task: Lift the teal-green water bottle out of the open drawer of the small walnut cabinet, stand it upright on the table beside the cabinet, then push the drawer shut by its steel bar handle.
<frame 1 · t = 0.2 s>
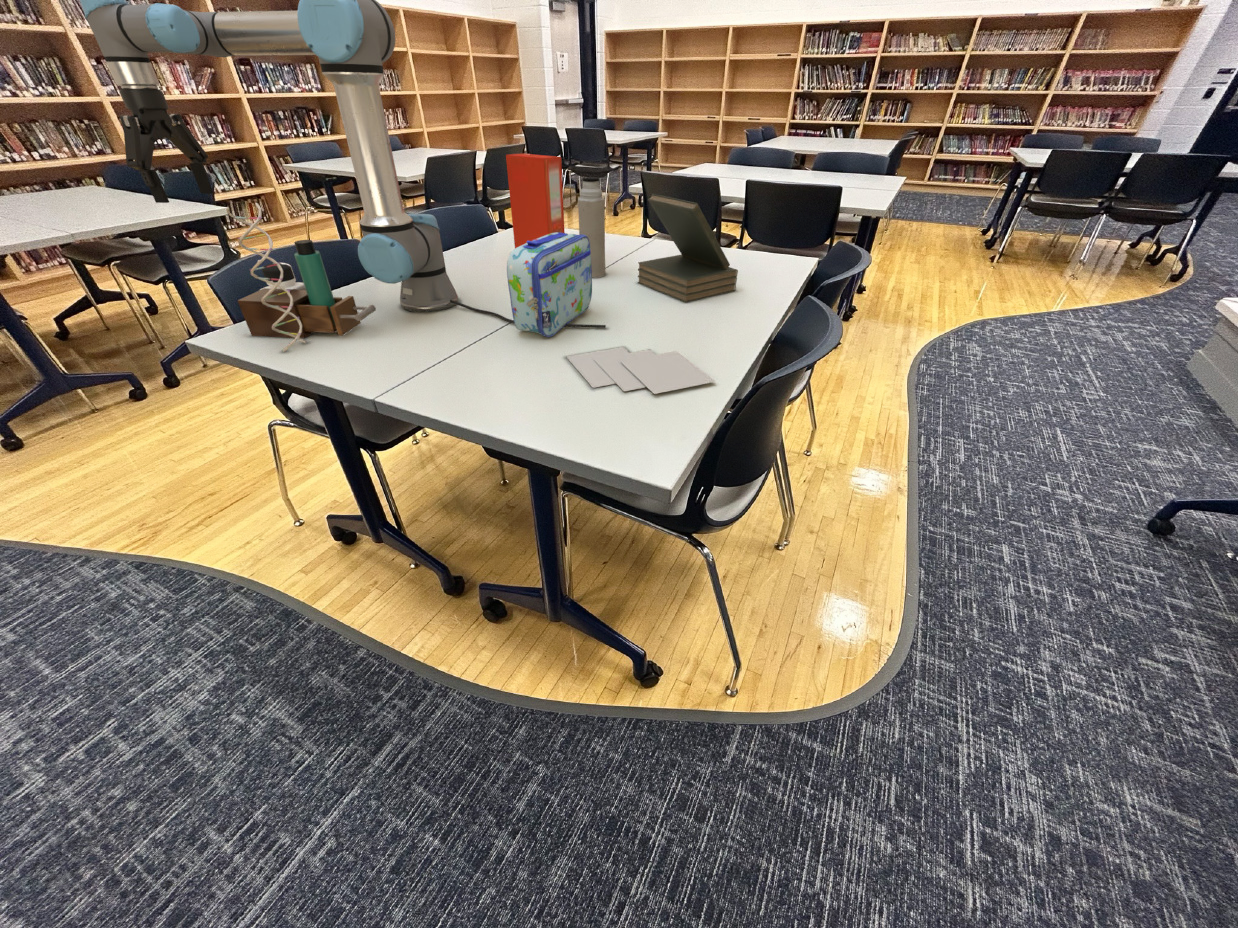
hand: (186, 198, 125), 28 cm above the table, tool pointing down, fingers open, 13 cm apart
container: (293, 316, 140), on the table
file binder: (541, 260, 187), on the table
thermos bottle: (593, 275, 172), on the table
bottle: (329, 324, 129), point 2 cm above the table, touching drawer
drawer: (334, 315, 128), point 4 cm above the table, slide at 8.5 cm, touching bottle
book stack: (685, 287, 162), on the table
dna model: (295, 348, 122), on the table
lunch box: (555, 323, 136), on the table
paper stack: (637, 370, 113), on the table
cabinet: (290, 330, 131), on the table
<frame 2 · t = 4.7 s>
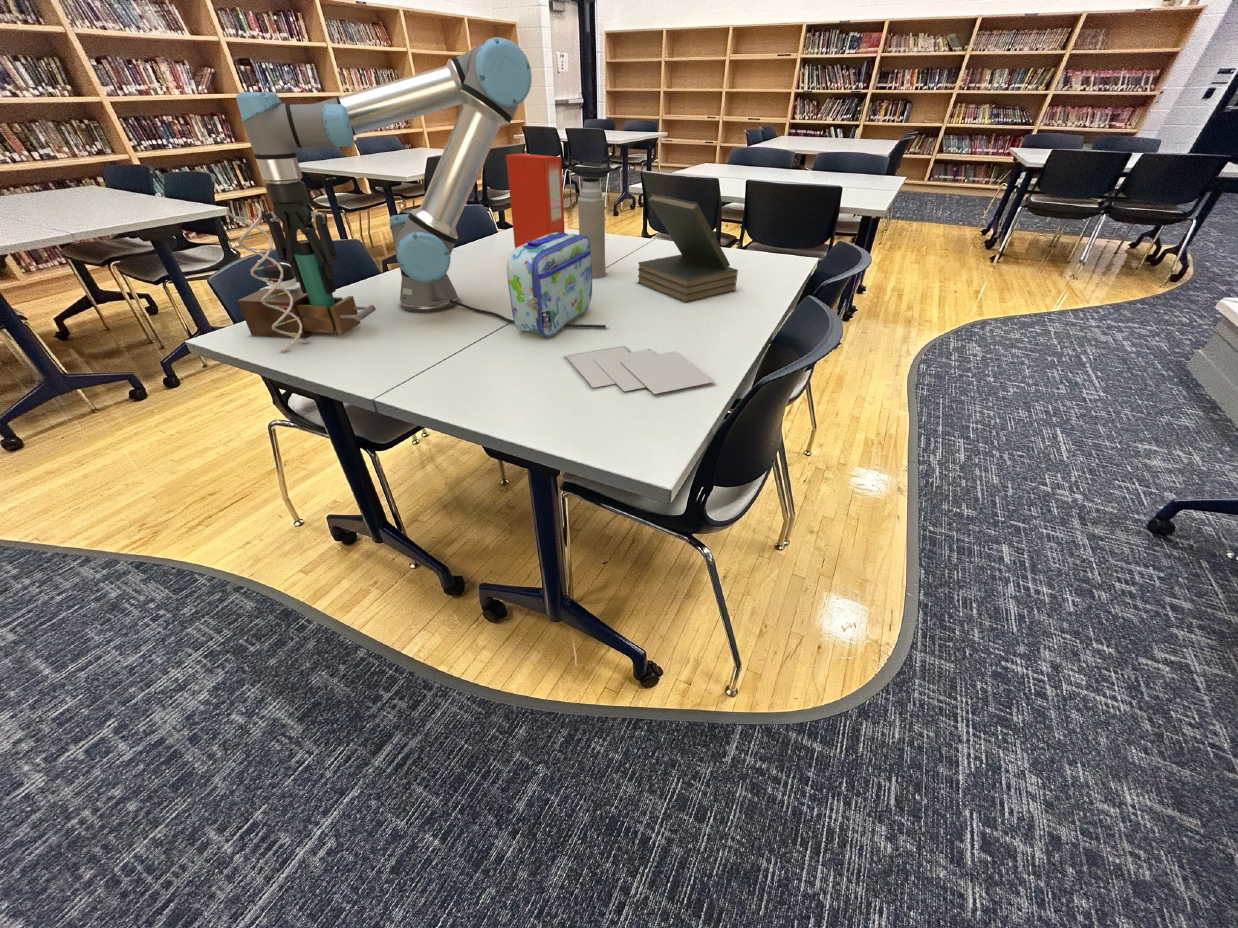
hand: (319, 292, 125), 10 cm above the table, tool pointing down, fingers closed on bottle, 5 cm apart
bottle: (329, 323, 129), point 2 cm above the table, touching drawer, gripper
everything else where it was.
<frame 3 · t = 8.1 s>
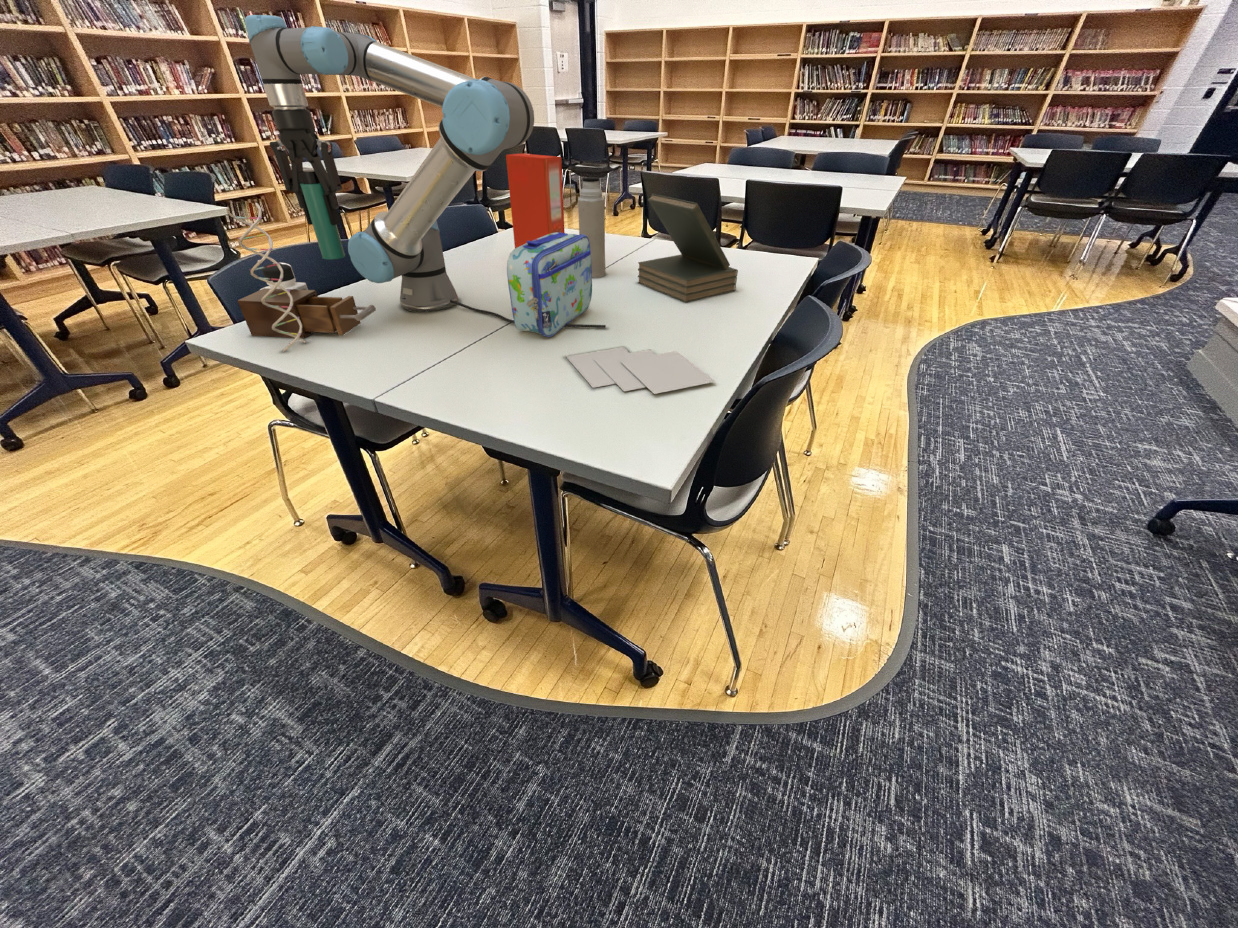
hand: (324, 223, 128), 22 cm above the table, tool pointing down, fingers closed on bottle, 5 cm apart
bottle: (334, 257, 133), point 14 cm above the table, touching gripper
drawer: (334, 315, 128), point 4 cm above the table, slide at 8.5 cm
everything else where it was.
when the fingers open (8 cm above the table, at t = 11.6 s): bottle stays where it is, on the table.
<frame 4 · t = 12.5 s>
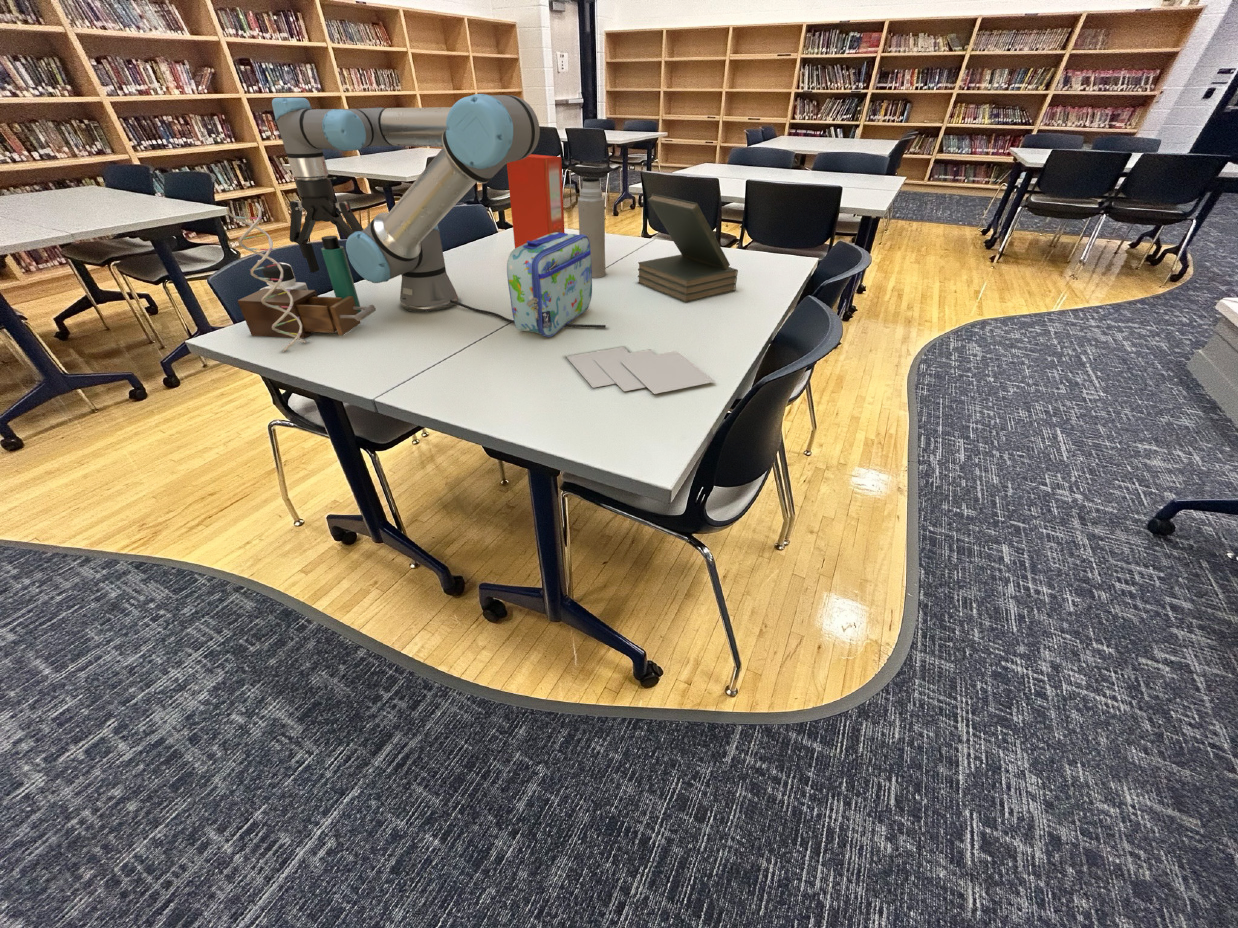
hand: (339, 272, 136), 10 cm above the table, tool pointing down, fingers open, 12 cm apart
bottle: (351, 312, 142), on the table
everything else where it was.
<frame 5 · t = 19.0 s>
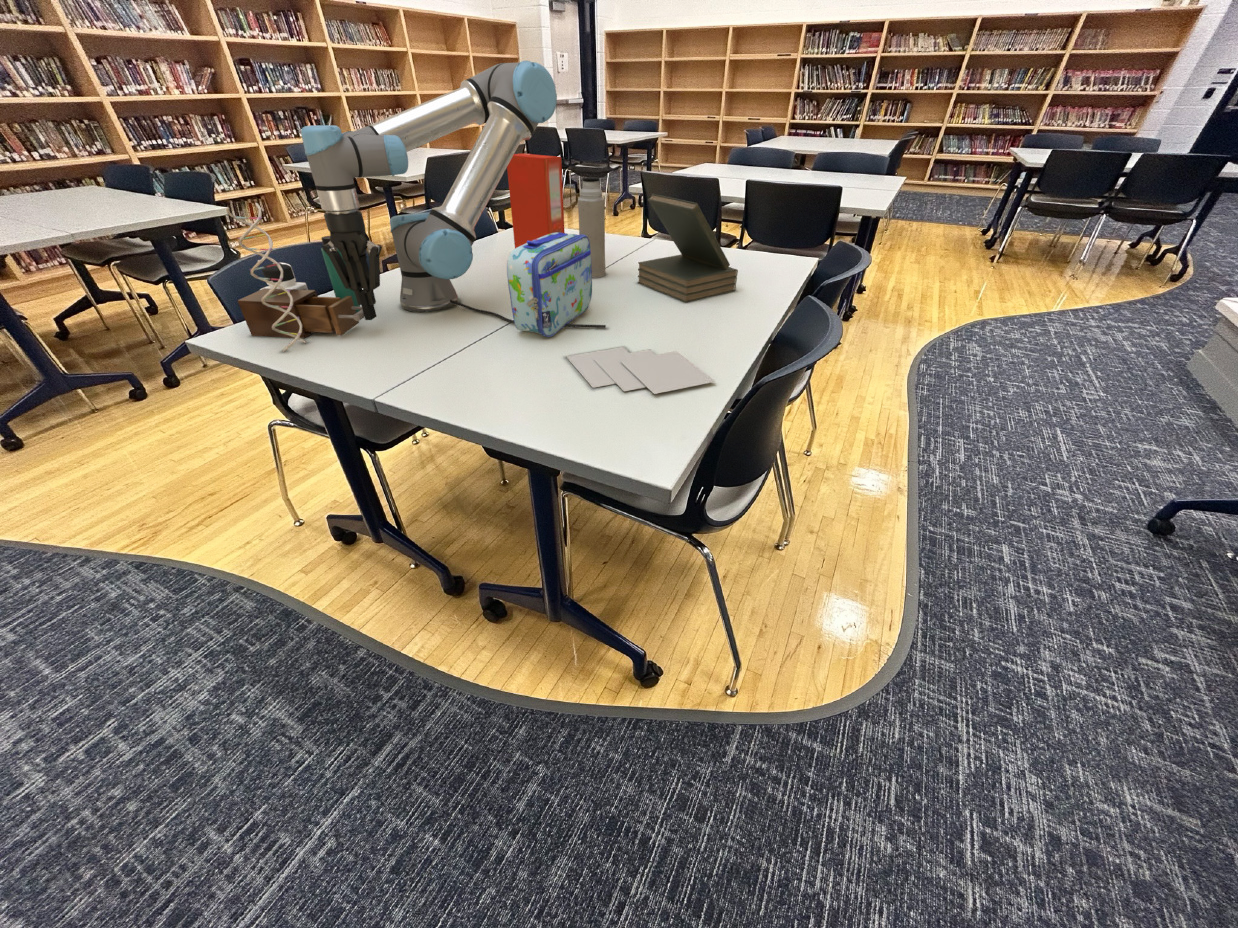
hand: (371, 318, 127), 4 cm above the table, tool pointing down, fingers closed
drawer: (332, 315, 128), point 4 cm above the table, slide at 8.1 cm, touching gripper
everything else where it was.
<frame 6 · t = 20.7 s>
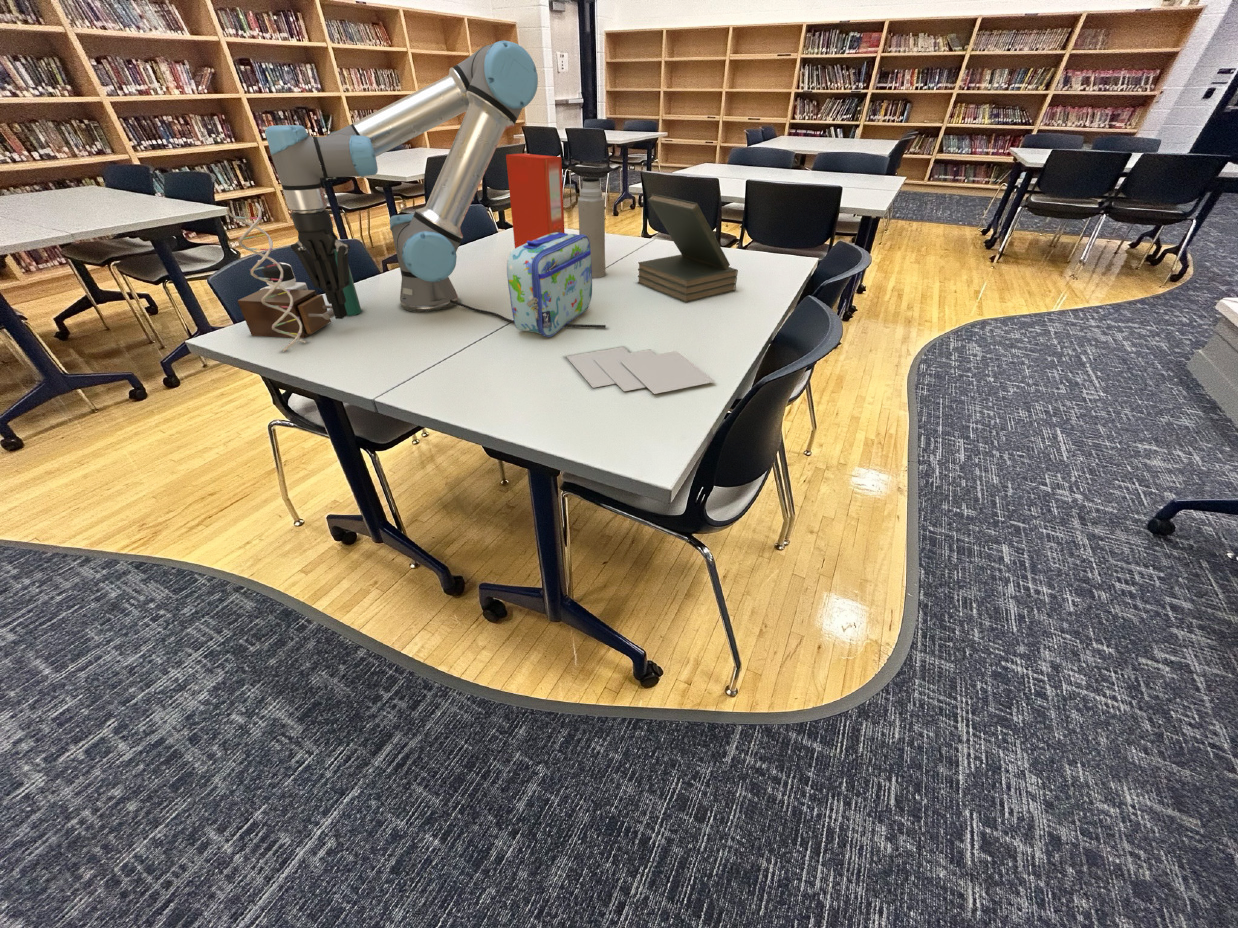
hand: (341, 316, 128), 4 cm above the table, tool pointing down, fingers closed
drawer: (303, 313, 128), point 4 cm above the table, slide at 0.6 cm, touching gripper
everything else where it was.
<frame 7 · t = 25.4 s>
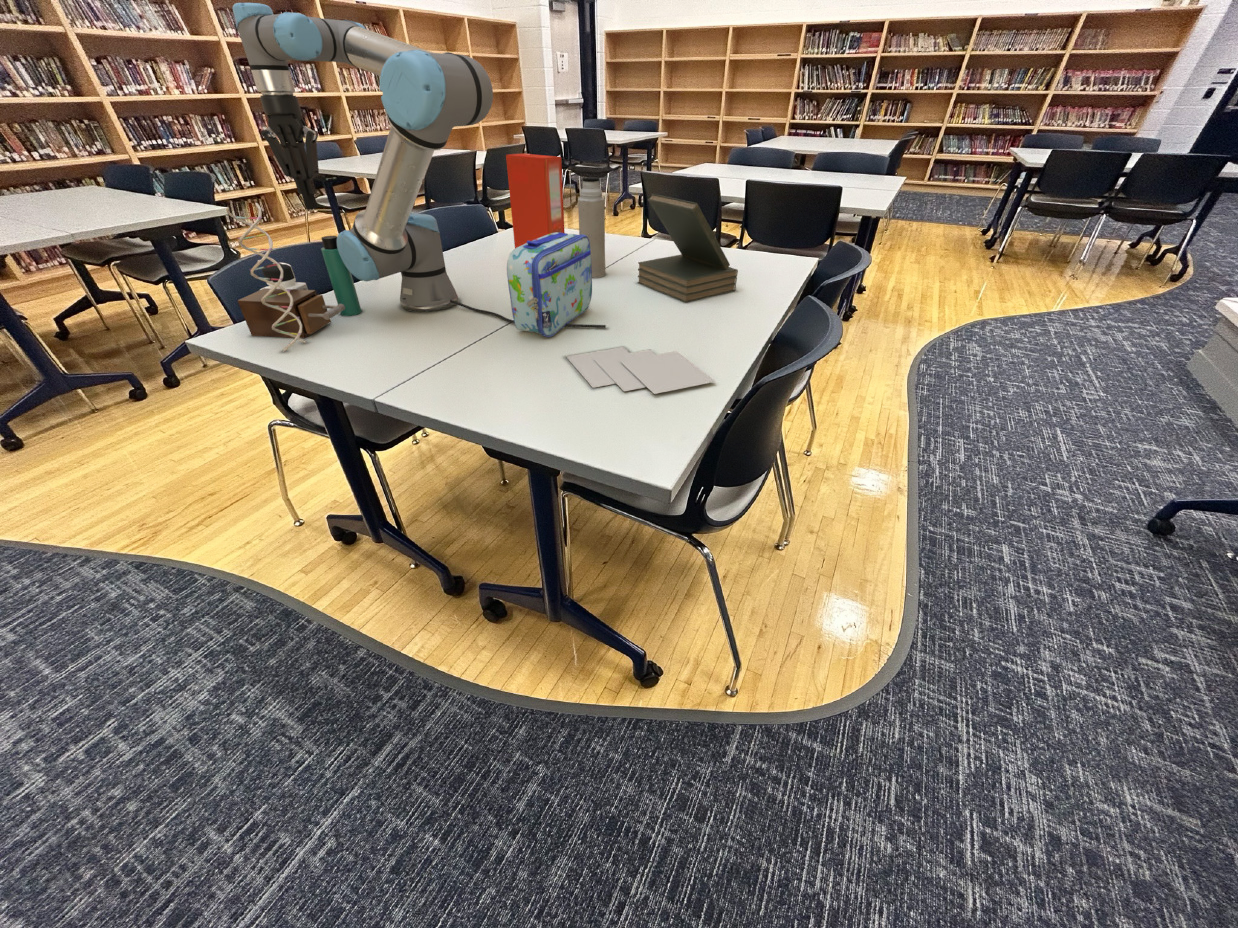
hand: (312, 208, 133), 24 cm above the table, tool pointing down, fingers closed
drawer: (303, 313, 128), point 4 cm above the table, slide at 0.6 cm
everything else where it was.
at the end: bottle inside the target area (0.1 cm from its centre), on the table; bottle tilted 0°; drawer slide at 0.6 cm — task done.
